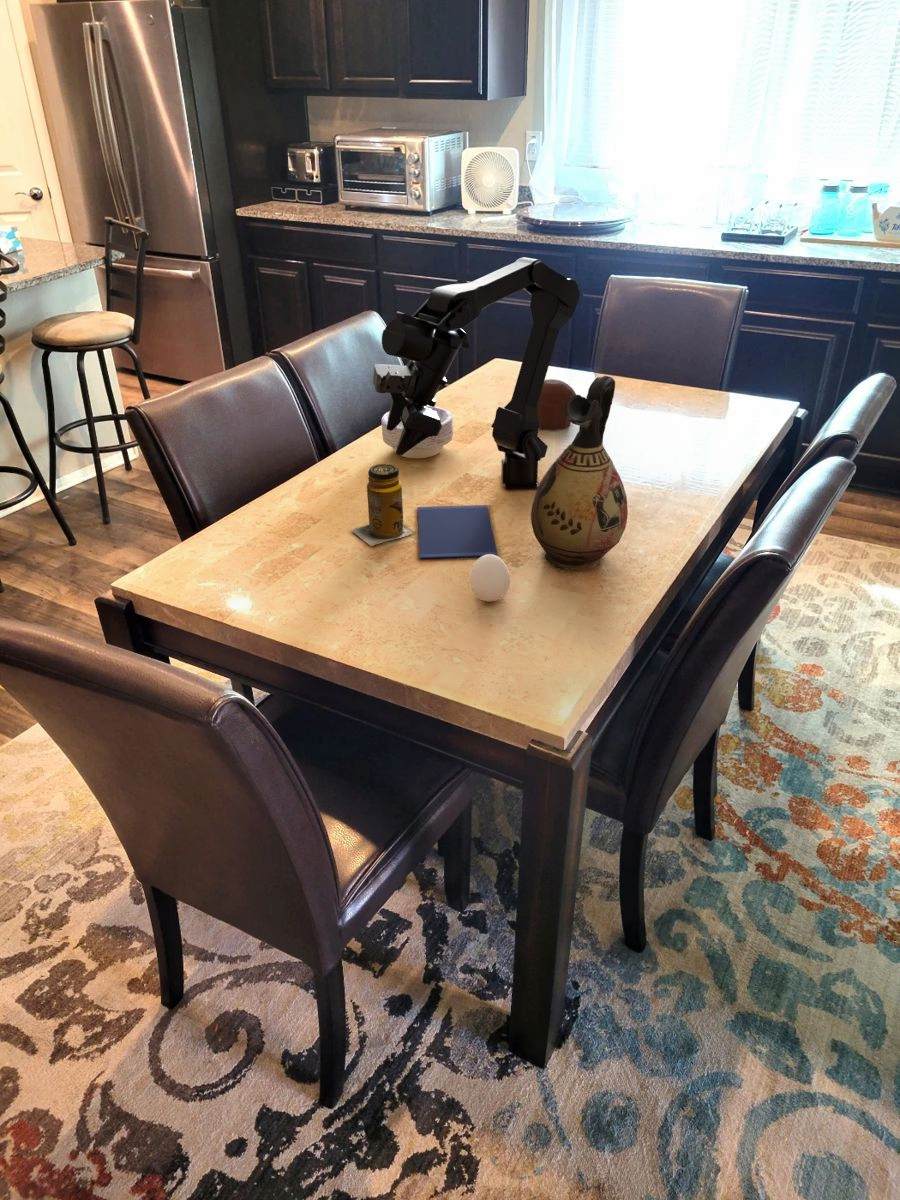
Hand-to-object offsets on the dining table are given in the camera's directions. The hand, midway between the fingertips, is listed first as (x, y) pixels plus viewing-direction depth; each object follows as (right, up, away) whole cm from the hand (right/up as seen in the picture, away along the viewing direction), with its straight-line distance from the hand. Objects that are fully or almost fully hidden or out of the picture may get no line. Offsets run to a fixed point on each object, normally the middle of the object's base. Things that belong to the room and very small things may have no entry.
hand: (393, 442), depth 151 cm
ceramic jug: (+31, -21, -9) cm, 39 cm away
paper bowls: (+3, +4, +33) cm, 34 cm away
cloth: (+11, -16, 0) cm, 19 cm away
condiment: (-2, -16, 0) cm, 16 cm away
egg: (+16, -28, -20) cm, 38 cm away
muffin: (+33, +13, +47) cm, 59 cm away
